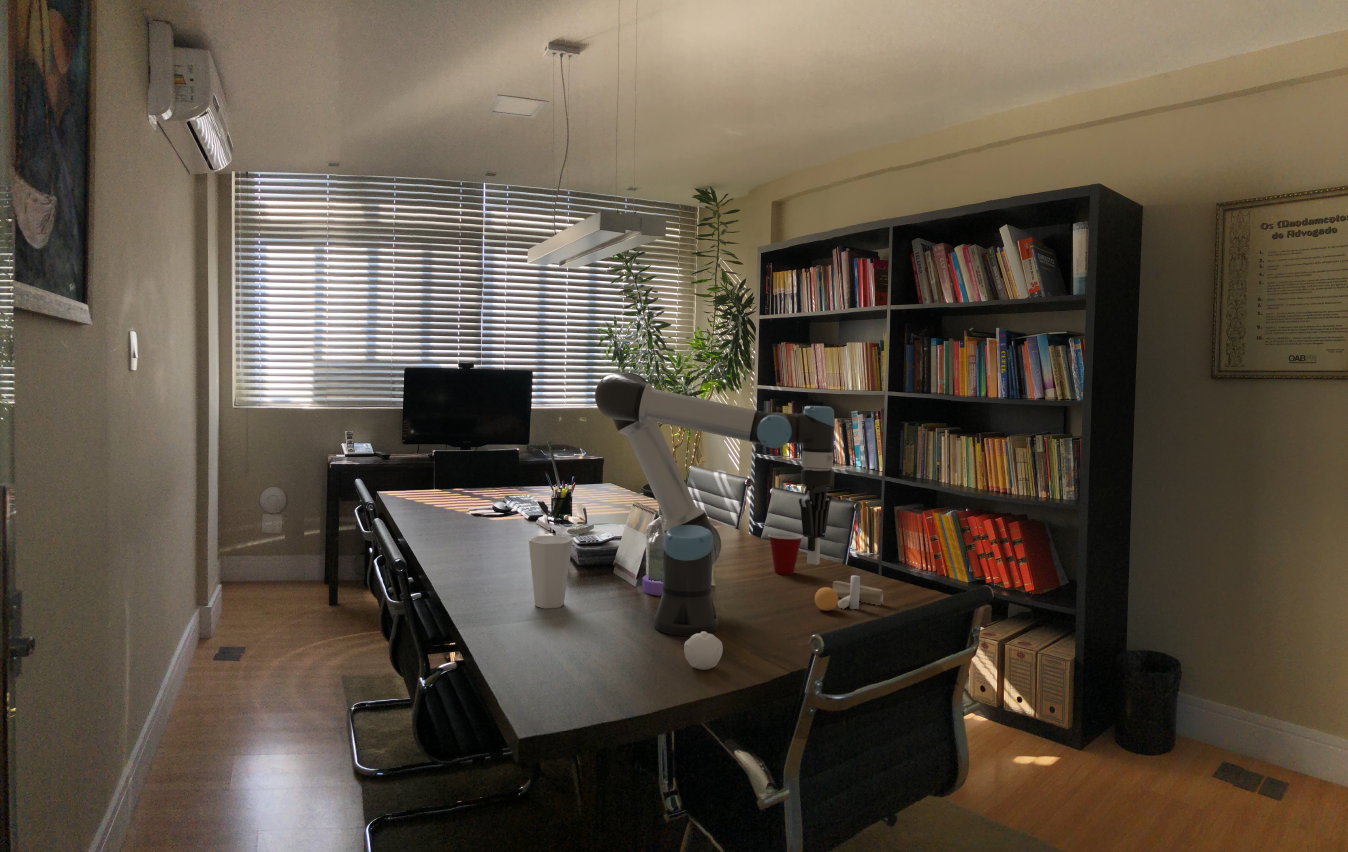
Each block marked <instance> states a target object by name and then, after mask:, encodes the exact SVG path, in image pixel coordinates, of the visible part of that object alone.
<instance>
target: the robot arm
mask: <svg viewBox="0 0 1348 852" xmlns="http://www.w3.org/2000/svg"><path fill="white" fill-rule="evenodd" d="M594 400H595V404H596V407H597V408H598V410H599V411H600V413H601V414H603V416H605V417H606V418H608V419H612V421H613V424H614V425H615V427H616V429H617V432H618V433H619V434H621V435H624V436H625V437H626V438H627V439H628V441H629V444H630V446H631V448H632V450H633V452H634V455H635V457H636V459H637V462H638V463H639V466H640V468H641V470H642V473H643V474H644V476H645V479H646V481H647V483H648V485H649V487H650V489H651V492H652V493H653V496H654V499H655V501H656V503H657V504H658V507H659V509H660V511H661V514H662V516H663V518H664V520H665V524H664V527H663V529H662V530H663V532H664V538H663V542H662V546H663V547H662V548H663V559H662V560H663V564H662V565H663V566H662V573H663V593H662V596H661V597H660V600H659V603H658V606H657V610H656V613H655V615H654V620H653V621H654V623H653V624H654V625H653V626H654V628H655V629H656V630H657V631H659V632H661V633H664V634H668V635H673V636H681V637H691V636H693V635H694V634H697V633H699V634H700V633H701V632H702V631H705V632H707V633H708V634H713V633H714V632H716V631H717V630H718V628H719V627H718V622H719V621H718V619H719V618H718V615H717V612H716V609H715V605H714V601H713V598H712V587H713V586H712V581H713V577H712V576H713V565H714V563H715V562H717V560H718V558H719V556H720V554H721V550H722V540H721V536H720V533H719V531H718V530H717V529H716V527H715V526H714V525H713V524H711V521H710V519H709V518H708V515H707V513H706V510H704V509H702V508H699V507H697V506H696V503H695V501H694V499H693V497H692V494H691V493H690V490H689V488H688V486H687V484H686V482H685V480H684V477H683V475H682V473H681V471H680V469H679V466H678V464H677V462H676V460H675V458H674V457H675V456H673V454H672V451H671V449H670V447H669V444H668V442H667V440H666V438H665V435H664V434H663V431H662V429H661V427H660V426H659V423H661V424H665V425H671V426H675V427H679V428H683V429H684V428H686V429H689V430H694V431H699V432H703V433H708V434H713V435H717V436H722V437H726V438H731V439H735V440H736V439H737V440H741V441H745V442H751V443H754V444H758V445H763V446H765V447H767V448H771V449H779V448H782V447H784V446H785V445H786V444H797V445H799V444H800V445H802V447H801V448H802V449H801V451H802V452H801V467H802V469H801V470H800V471H801V473H800V483H801V484H802V485H804V486H805V489H804V496H803V498H801V497H800V498H799V499H798V505H799V507H800V515H801V516H800V517H801V525H802V526H801V527H802V536H803V538H807V548H806V549H807V552H806V553H807V554H806V563H807V564H810V565H816V566H817V565H819V564H820V560H821V559H820V558H821V557H820V556H821V538H823V539H824V538H825V536H826V531H827V526H828V525H827V524H828V518H829V514H830V513H829V512H830V506H831V502H832V498H833V495H832V494H828V487H829V486H831V485H832V484H833V471H832V470H831V469H832V468H833V461H834V459H835V457H834V453H833V452H834V441H835V440H834V437H835V410H834V409H833V407H831V406H825V405H824V406H823V405H822V406H821V405H806V406H804V407H803V411H802V412H801V413H790V412H787V413H786V412H771V411H767V412H766V411H760V410H756V409H752V408H751V409H750V408H747V407H743V406H738V405H734V404H733V405H732V404H728V403H723V402H719V401H718V402H717V401H713V400H708V399H704V398H699V397H694V396H689V395H685V394H681V393H676V392H671V391H666V390H662V389H661V390H660V389H657V388H654V387H653V385H652V384H651V383H649V382H648V380H647V379H645V378H644V377H643V376H642V375H639V374H638V373H636V372H635V373H634V372H613V373H610V374H607V375H606V376H604V377H603V378H602V379H601V380H600V381H599V383H598V384H597V386H596V389H595V393H594Z"/></svg>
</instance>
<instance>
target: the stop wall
mask: <svg viewBox="0 0 1348 852" xmlns="http://www.w3.org/2000/svg"><path fill="white" fill-rule="evenodd" d="M850 586H851V582H845V581H841V580H834V581H833V582H832V589H833V590H834V591H835V592H836V593H837V596H838V598H841V599H843V598H845V597H847V596H849V595H850ZM859 601H861V602H860V603H864V602H865V604H868V603H870V605H873V604H875V605H874V606H878V605H880V606H882V605H883V604H884V589H880V588H876V587H871V586H866V585H862V584H860V594H859ZM881 604H882V605H881Z"/></svg>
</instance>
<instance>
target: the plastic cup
mask: <svg viewBox="0 0 1348 852" xmlns="http://www.w3.org/2000/svg"><path fill="white" fill-rule="evenodd" d="M767 536H768V538H769V544H770V547H771V557H772V562H773V569H774V573H776V574H778V575H782V576H783V575H785V576H787V575H789V576H790V575H793V574H794V571H795V569H796V563H797V559H798V554H799V549H800V546H801V542H802V539H803V538H804V535H799V534H794V533H793V534H792V533H791V534H790V533H769V534H767Z"/></svg>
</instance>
